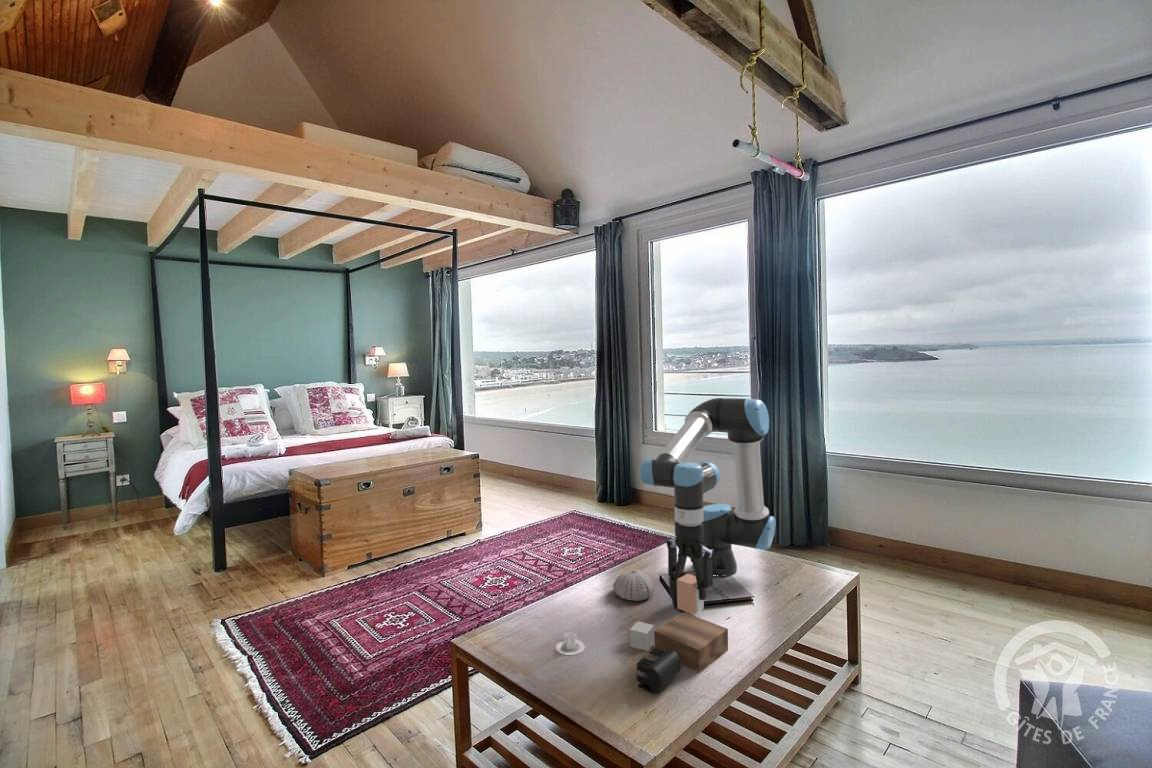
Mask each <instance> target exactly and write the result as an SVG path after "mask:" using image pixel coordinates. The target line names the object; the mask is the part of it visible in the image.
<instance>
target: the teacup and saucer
mask: <svg viewBox="0 0 1152 768" xmlns="http://www.w3.org/2000/svg"><path fill="white" fill-rule="evenodd" d="M564 644H565V646H566V649H568V650H571V651H572V650H574V649H575V647H576V644H577V645H578V646H579V649H578V650H576V651H573V652H566V651H563V650H562V649H561V648H562V646H563V645H564ZM585 646H586V645H585V643H583V642H582V641H580V640H578V638H577V634H576V633H575V632H573V631H568V632H567V631H566V632H565V633H564V635H563V640H561V641H560V642H558V643H557V644H556V646H555V649H556V651H557V652H558V653H559V654H561V655H564V656H574V655H578V654H580V653H582V652H583V651H584V650H585Z"/></svg>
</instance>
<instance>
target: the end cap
mask: <svg viewBox="0 0 1152 768" xmlns="http://www.w3.org/2000/svg"><path fill="white" fill-rule="evenodd" d="M649 654H650V655H652V656H655V657H656V658H655V659H649V658H647V657H642V658H641V659H640V660H638V661H637V663H636V671H638V672H640V673H643V675H640V674H637V675H636V681H637V682H638V684H637V687H638V688H639V689H641V688H642V689H641V690H644V691H646V692H648V693H650V694H656V693H657V692H660V691H661V690H662V689H663V687H665V686H666V685H667V684H668V683H669V681H671V680H672V678H674V677H675V675H677V673H679V672H680V671H681V668H682V665H681V660H680V658H679V656H678V654H677V653H676V652H675V651H673V650H672V649H669V650H668V651H667V652H666V651H663V650H661V649H658V648H655V647H654V648H653V649H650V651H649Z"/></svg>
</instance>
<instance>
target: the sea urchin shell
mask: <svg viewBox="0 0 1152 768" xmlns="http://www.w3.org/2000/svg"><path fill="white" fill-rule="evenodd" d="M612 587H613V591H614V592H615V594H616V595H617V596H618V597H619V598H621V599H623V600H627V601H634V602H639V601H641V602H642V601H644V600H647V599H649V598H650V597H651V596H652V595H653V593H654V590H655V589H654V588H655V586H654V584H653V581H652V580H651V579H650V578H649V576H648V575H647V574H646V573H645V572H643V571H642V570H638V569H628V570H625V571H624V572H622V573H621V574H619V576H617V578H615V580H614V583H613V585H612Z"/></svg>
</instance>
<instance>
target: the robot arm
mask: <svg viewBox="0 0 1152 768" xmlns="http://www.w3.org/2000/svg"><path fill="white" fill-rule="evenodd" d="M769 416H770V415H769V412H768V409H767V406H766V404H765V403H764V402H763V401H762V400H761V399H754V398H748V397H747V398H737V397H736V398H735V397H734V398H731V397H729V398H728V397H715V398H711V399H708V400H706V401H703V402H702V403H700V404H699V405H697V406H695V407H694V408H693V409H691V410H690V412H688V414H687V415H686V416H685V418H684V423H683V425H682V426H681V427H680V429H679V430H678V431H677V432H676V433H675V434H674V436H672V438H671V440H670V441H669V442H668V443H667V444H666V445H665V446H664V448H663V449H662V450H661V452H660V453H659V454H658V456H657V457H656V458H654V459H653V458H650V459H649V458H647V459H644V460H643V461H642V462H641V465H640V466H639V477H640V480H641V482H642V483H643V484H644V485H648V486H653V487H662V488H672V489H673V491H674V492H673V494H674V495H673V497H674V521H675V522H674V536H675V537H674V538H671V539H668V540H666V546H667V550H668V551H667V559H668V560H667V567H668V568H667V571H668V573H667V574H668V577H671V576H672V577H673V578H674V580H675V591H677V579H678V578H680V577H682V576H683V573H685V568H686V563H687V558H689V559H690V563H692V568H693V571H694V576H696V581H697V585H698V586H697V587H696V588H695V604H696V613H700V612H701V611H704V609H705V607H704V606H705V603H704V601H705V599H706V598H707V589H708V588H710V587H712V586H713V584H714V583H713V582H714V581H713V578H714V576H713V575H716V576H715V577H717V575H718V576H722V577H724V576H723V575H729V576H733V575H734V574H736V573H737V571H738V563H737V561H736V557H735V555H734V552H733V549H732V545H734V546H738V547H745V548H751V549H754V550H762V551H764V550H765V551H766V550H769V548H770V547H771V546H772V543H773V540H774V537H775V533H776V526H777V525H776V523H777V522H776V518H775V517H774V516H772V515H770V510H769V508H768V507H767V506H765V502H764V487H763V486H764V485H763V474H762V473H763V472H762V471H763V470H762V459H761V458H762V456H761V445H760V444H761V442H762V441H764V438H765V436H766V435H767V434H768V433H769V429H770V417H769ZM712 433H726V434H727V439H728V441H729V442H731V443H732V446H733V448H732V449H733V457H734V470H735V472H734V473H735V482H736V484H735V485H736V496H737V506H736V507H735V508H734V510H733V509H732V506H731V505H729V504H726V503H714V504H708V505H704V494H705V493H707V492H709V491H710V490H712V489H714V488H715V487H716V486H717V485H718V484H719V482H720V479H721V472H720V469H719V468H718V467H717V465H716V464H715V463H713V462H710V461H704V462H699V463H696V462H687V460H688V459H689V458H690V456H691V455H692V453H693V452H694V451H695V449H696V448H697V447H698V445H699V444H700V442H701V441H702V440H703V439H704V438H705V437H707V436H709V435H710V434H712Z"/></svg>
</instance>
